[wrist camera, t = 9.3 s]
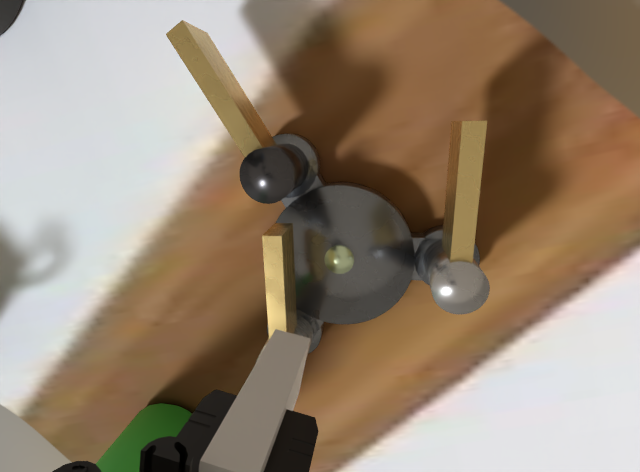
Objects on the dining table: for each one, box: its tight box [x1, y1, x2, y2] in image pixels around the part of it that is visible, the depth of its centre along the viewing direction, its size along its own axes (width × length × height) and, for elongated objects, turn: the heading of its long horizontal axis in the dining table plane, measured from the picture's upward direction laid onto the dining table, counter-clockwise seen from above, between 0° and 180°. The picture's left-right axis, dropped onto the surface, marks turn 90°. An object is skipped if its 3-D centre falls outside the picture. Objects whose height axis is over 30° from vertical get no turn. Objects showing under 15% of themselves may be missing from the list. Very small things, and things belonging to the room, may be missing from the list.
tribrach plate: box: [267, 134, 480, 354], centre depth 31 cm, size 20×18×2 cm
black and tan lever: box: [166, 20, 309, 204], centre depth 26 cm, size 12×4×6 cm, turn 32°
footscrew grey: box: [423, 121, 490, 314], centre depth 26 cm, size 12×4×6 cm, turn 1°
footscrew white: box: [256, 223, 313, 362], centre depth 30 cm, size 12×4×6 cm, turn 1°
